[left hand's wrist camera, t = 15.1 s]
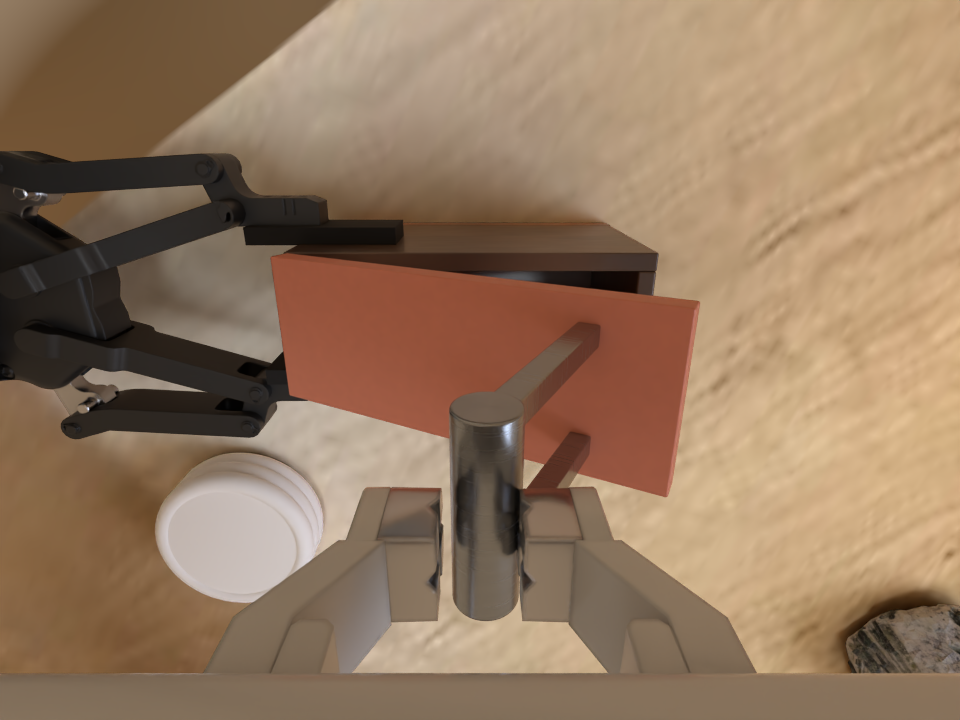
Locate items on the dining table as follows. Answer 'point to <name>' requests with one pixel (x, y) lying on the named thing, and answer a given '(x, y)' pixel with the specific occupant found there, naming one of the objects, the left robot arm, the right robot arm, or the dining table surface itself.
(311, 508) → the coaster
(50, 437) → the dining table surface
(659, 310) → the lid
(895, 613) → the rock
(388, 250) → the chest
